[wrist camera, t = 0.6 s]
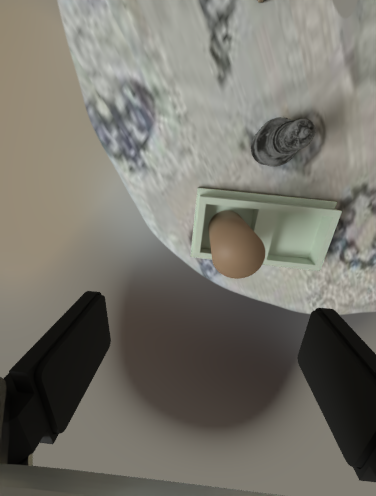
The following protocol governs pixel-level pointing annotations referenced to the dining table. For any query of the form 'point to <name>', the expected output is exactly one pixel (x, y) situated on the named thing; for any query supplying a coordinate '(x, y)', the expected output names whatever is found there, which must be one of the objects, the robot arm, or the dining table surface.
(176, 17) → the dining table surface
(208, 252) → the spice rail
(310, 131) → the salt shaker
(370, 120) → the dining table surface
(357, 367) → the robot arm
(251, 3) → the dining table surface
